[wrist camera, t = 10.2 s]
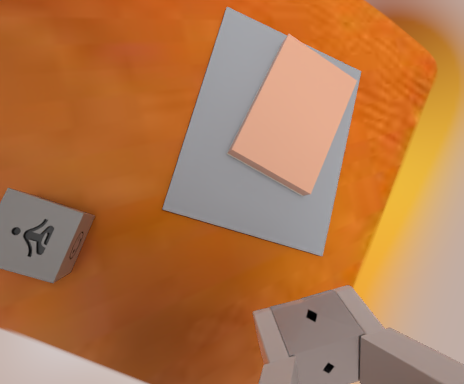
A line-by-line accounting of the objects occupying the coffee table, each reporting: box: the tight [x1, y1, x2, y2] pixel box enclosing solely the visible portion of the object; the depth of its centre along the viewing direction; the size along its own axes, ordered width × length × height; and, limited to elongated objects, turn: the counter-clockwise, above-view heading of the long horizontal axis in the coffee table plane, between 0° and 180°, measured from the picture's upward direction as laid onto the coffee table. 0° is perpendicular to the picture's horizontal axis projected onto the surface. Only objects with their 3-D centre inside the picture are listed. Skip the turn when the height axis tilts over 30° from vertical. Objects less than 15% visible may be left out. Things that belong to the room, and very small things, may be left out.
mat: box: [162, 7, 361, 256], centre depth 31 cm, size 17×22×1 cm
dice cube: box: [0, 188, 95, 283], centre depth 22 cm, size 5×5×5 cm
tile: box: [227, 34, 357, 196], centre depth 31 cm, size 2×9×14 cm
